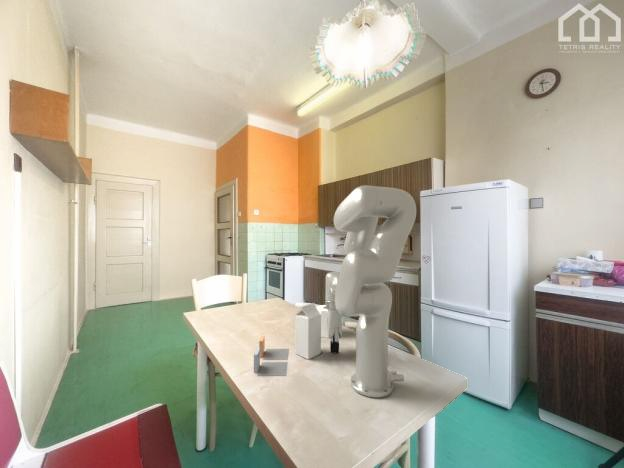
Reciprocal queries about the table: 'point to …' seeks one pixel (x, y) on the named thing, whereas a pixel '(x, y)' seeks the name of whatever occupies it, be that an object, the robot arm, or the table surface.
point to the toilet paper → (323, 320)
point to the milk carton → (308, 332)
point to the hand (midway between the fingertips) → (334, 351)
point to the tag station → (270, 354)
